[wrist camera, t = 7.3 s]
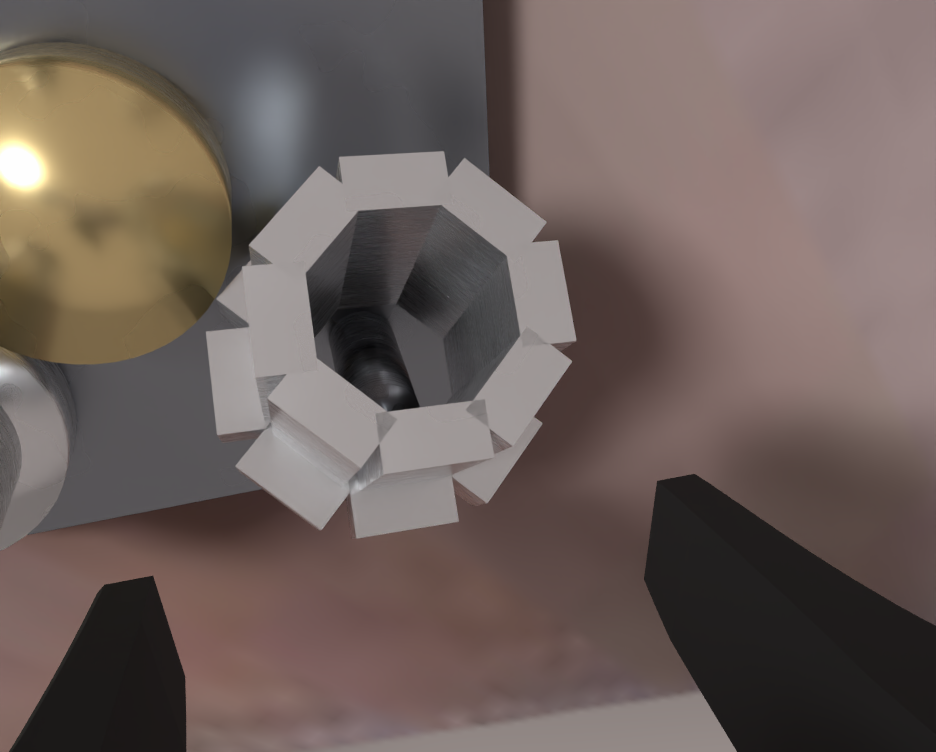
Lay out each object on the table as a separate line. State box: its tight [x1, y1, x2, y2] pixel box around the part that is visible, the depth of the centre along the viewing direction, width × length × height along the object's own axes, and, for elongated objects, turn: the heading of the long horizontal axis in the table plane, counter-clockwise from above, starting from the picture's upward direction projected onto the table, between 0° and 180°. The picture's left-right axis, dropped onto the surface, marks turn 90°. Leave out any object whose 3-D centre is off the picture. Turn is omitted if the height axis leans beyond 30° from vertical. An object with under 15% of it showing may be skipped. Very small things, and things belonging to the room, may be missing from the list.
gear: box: [206, 151, 577, 539], centre depth 13 cm, size 6×6×5 cm
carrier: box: [0, 0, 490, 535], centre depth 14 cm, size 15×15×4 cm
